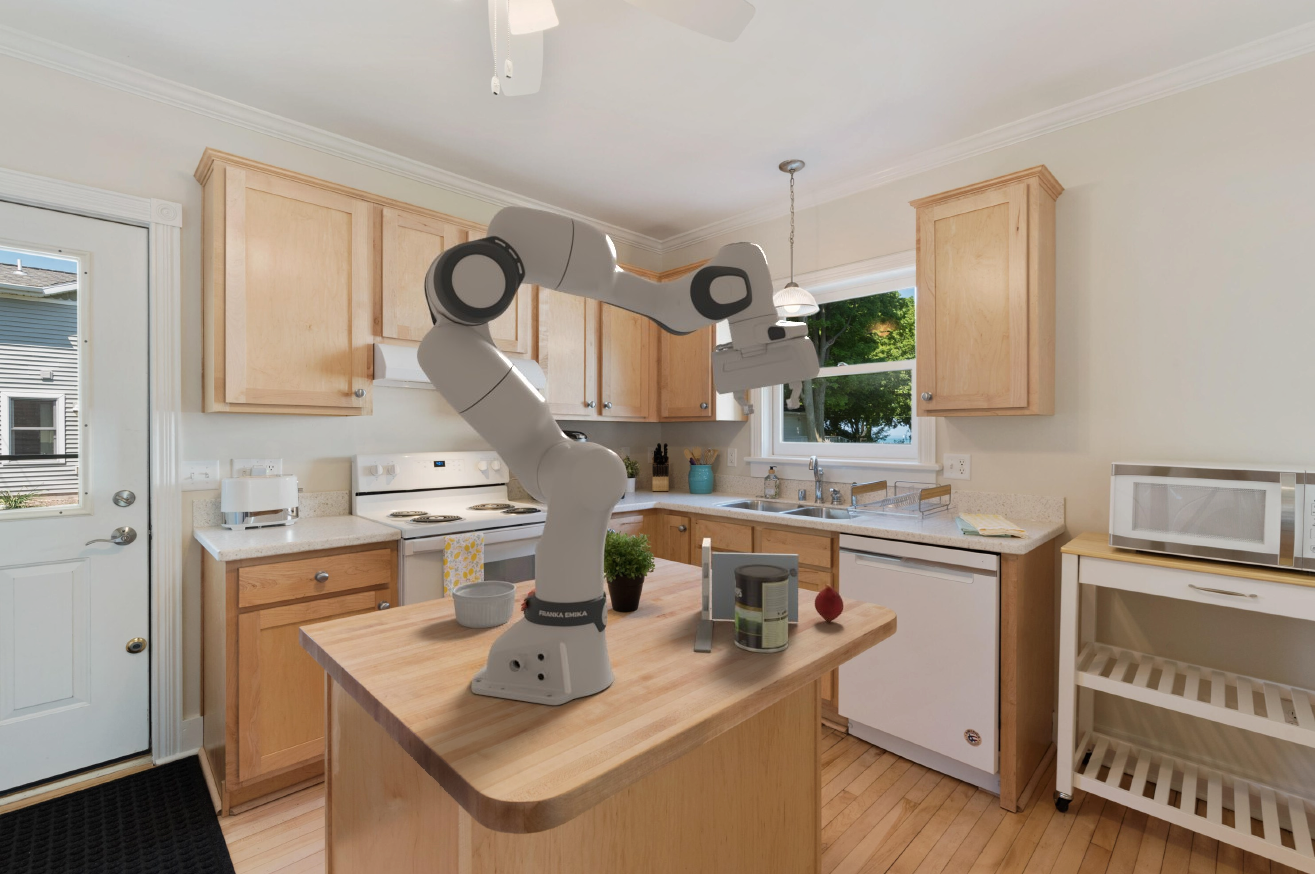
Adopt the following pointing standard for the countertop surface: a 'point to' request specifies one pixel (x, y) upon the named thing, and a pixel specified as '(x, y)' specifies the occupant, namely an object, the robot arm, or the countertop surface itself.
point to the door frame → (705, 602)
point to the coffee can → (761, 608)
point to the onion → (829, 603)
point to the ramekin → (484, 603)
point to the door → (726, 580)
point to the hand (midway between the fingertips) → (770, 411)
